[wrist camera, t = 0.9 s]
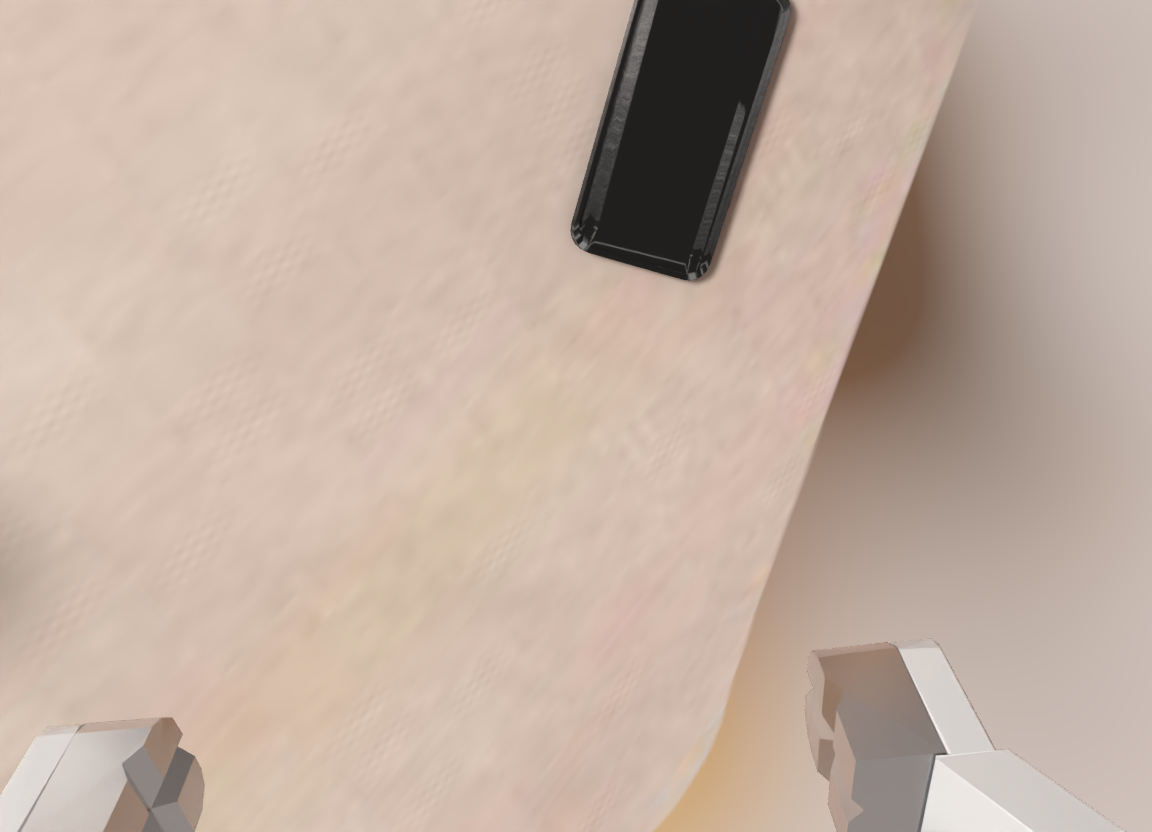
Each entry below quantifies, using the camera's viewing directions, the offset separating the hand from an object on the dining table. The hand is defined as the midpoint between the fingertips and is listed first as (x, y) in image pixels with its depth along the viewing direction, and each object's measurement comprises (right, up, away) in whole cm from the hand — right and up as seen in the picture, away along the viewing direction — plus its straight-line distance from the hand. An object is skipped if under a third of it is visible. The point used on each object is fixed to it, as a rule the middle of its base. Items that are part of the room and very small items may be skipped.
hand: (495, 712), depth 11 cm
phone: (+6, +19, +33) cm, 39 cm away
